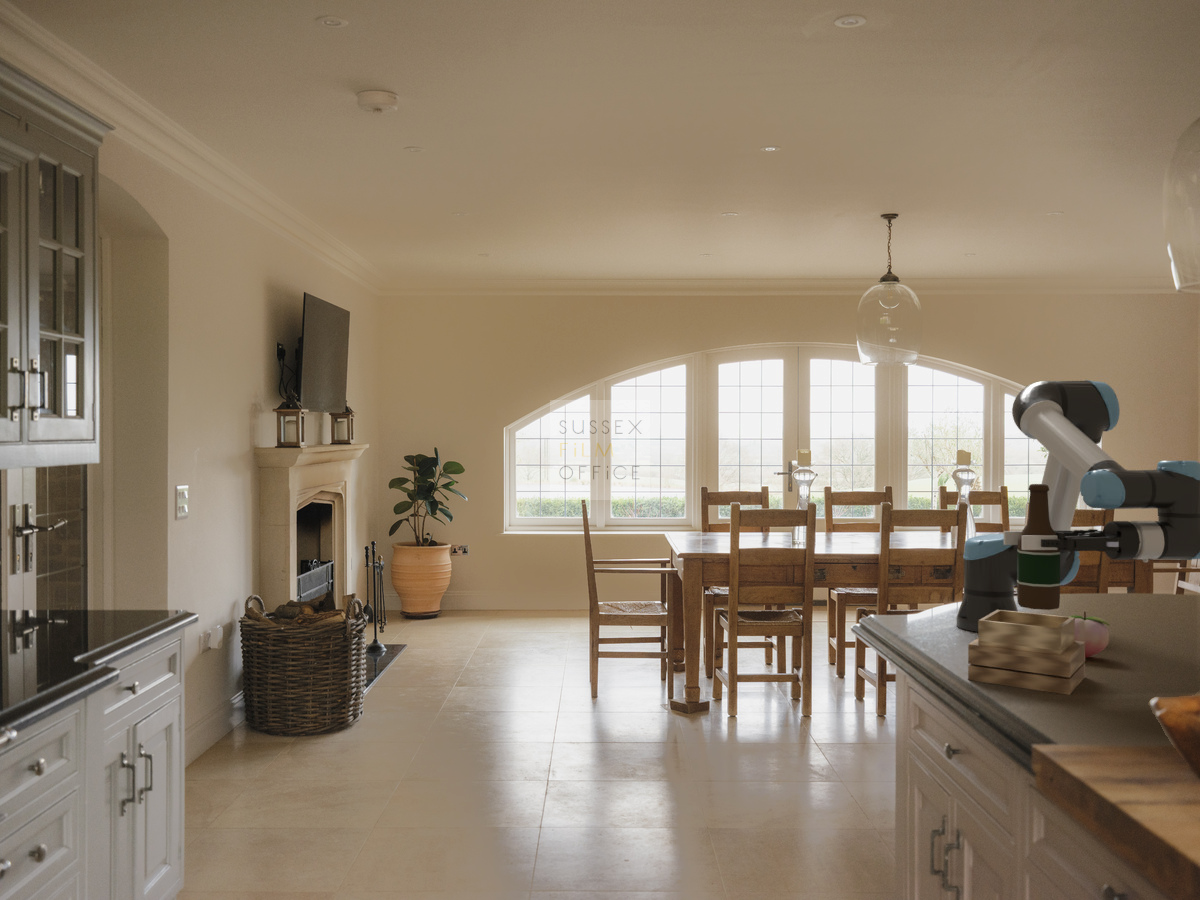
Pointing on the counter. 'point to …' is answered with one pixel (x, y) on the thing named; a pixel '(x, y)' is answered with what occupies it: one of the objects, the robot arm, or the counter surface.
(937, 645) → the counter surface
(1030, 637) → the top crate
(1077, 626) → the decorative fruit
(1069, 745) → the counter surface
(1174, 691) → the counter surface
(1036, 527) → the beer bottle
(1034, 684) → the base crate
